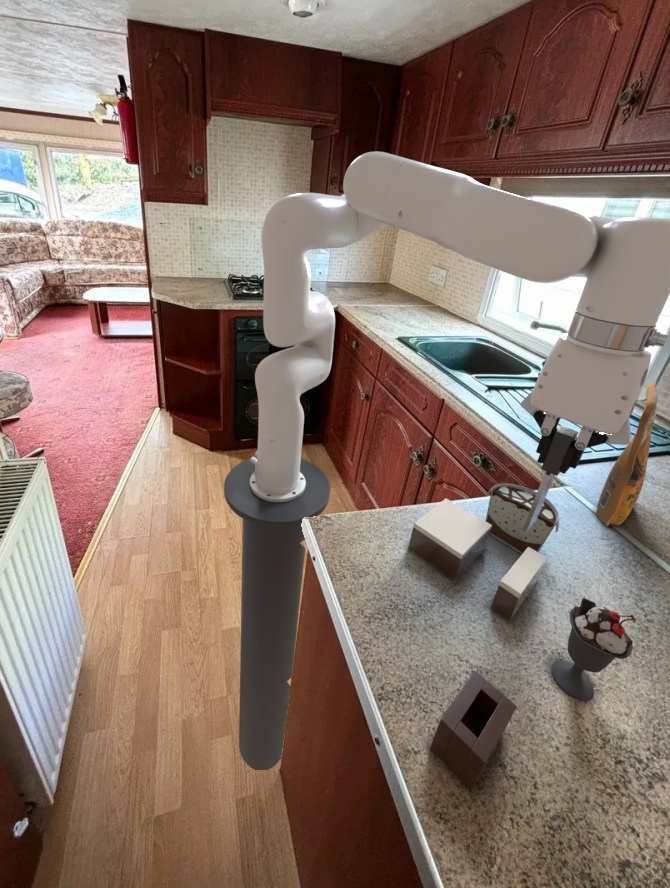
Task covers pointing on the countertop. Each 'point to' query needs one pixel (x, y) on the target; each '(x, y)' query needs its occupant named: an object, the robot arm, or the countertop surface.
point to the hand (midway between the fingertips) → (554, 463)
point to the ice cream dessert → (519, 517)
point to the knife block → (459, 742)
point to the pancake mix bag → (628, 469)
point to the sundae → (591, 647)
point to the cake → (449, 538)
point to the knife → (550, 470)
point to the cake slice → (518, 583)
